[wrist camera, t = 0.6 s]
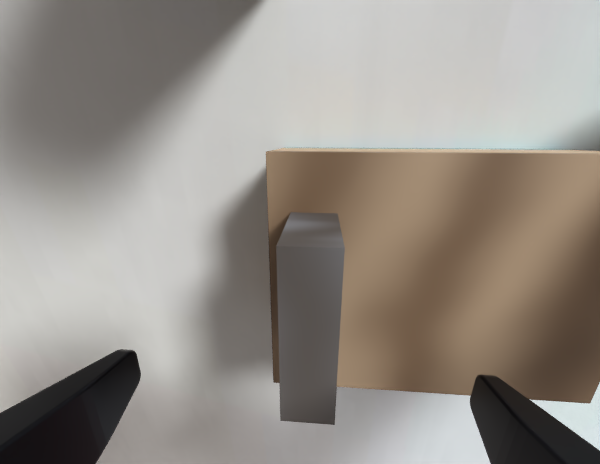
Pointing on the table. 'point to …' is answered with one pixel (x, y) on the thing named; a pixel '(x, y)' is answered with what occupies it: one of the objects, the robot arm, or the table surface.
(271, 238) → the lid
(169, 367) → the table surface
